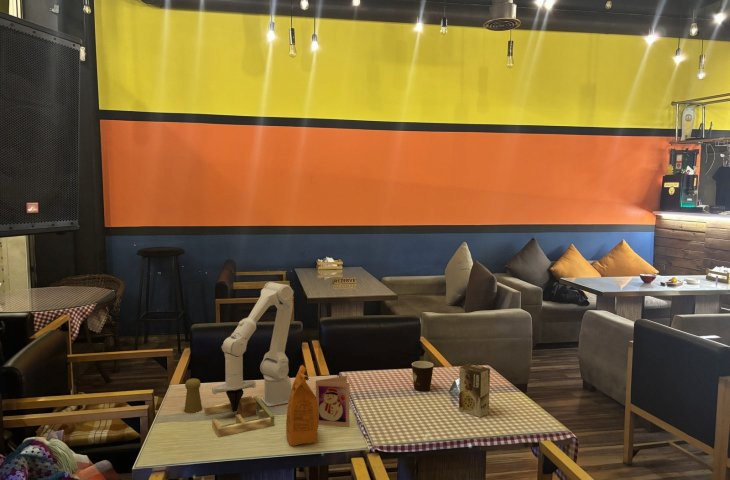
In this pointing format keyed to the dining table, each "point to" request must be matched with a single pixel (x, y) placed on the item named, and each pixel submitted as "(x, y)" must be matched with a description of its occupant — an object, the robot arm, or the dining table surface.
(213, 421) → the trap lane
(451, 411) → the dining table surface
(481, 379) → the coffee box
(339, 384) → the greeting card
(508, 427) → the dining table surface
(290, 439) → the coffee package
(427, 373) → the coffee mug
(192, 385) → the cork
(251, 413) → the walnut block
